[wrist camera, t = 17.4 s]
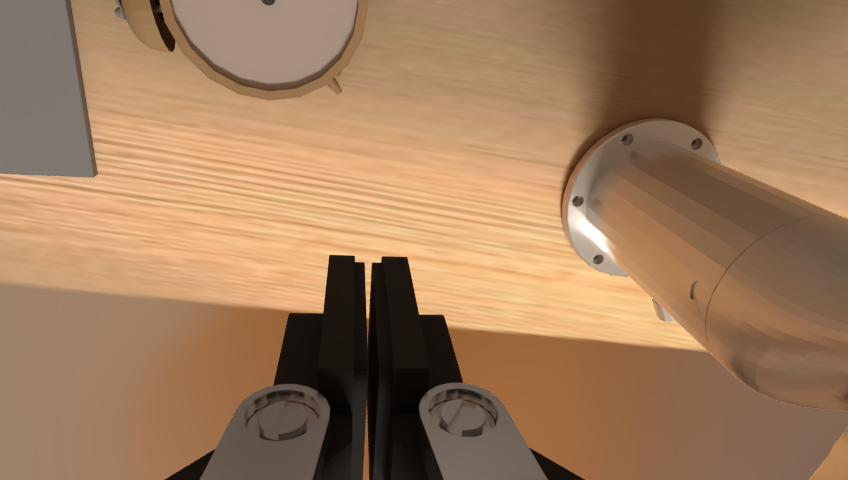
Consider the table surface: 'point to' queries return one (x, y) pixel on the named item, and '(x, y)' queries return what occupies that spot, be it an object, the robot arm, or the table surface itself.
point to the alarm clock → (255, 40)
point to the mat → (42, 92)
